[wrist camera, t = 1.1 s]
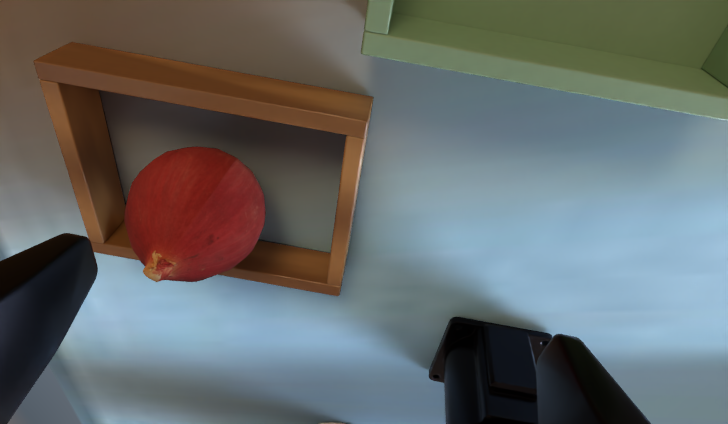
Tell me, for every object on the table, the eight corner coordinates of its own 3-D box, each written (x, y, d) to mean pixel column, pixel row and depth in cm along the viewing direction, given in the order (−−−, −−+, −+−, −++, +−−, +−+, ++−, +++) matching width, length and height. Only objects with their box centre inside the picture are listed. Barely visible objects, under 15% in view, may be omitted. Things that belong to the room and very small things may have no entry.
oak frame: (345, 265, 26) (339, 297, 24) (117, 223, 26) (92, 252, 24) (373, 96, 20) (368, 121, 18) (71, 41, 20) (32, 60, 18)
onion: (284, 219, 25) (236, 340, 19) (182, 206, 25) (101, 321, 19) (280, 124, 21) (219, 232, 15) (161, 109, 22) (52, 211, 15)
